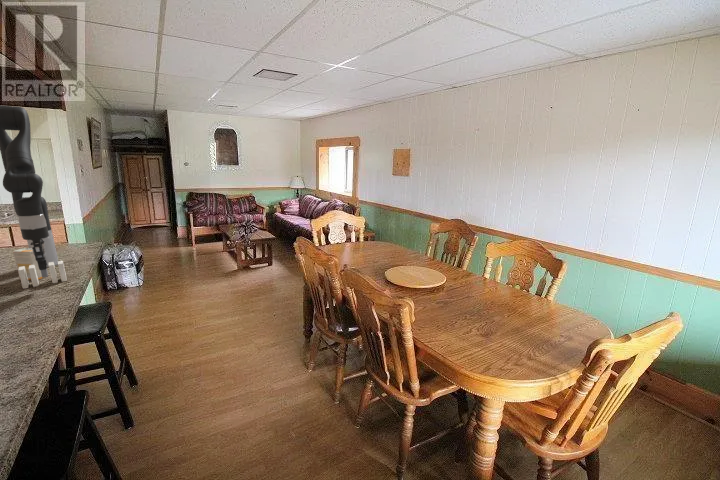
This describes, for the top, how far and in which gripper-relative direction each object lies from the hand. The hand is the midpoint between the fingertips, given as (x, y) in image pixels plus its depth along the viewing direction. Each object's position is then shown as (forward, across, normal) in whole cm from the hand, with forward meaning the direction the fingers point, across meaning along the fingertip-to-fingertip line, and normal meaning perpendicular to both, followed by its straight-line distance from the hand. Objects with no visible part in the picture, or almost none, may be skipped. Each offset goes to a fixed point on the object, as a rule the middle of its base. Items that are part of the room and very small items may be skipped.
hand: (43, 267), depth 134 cm
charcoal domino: (+3, 0, 0) cm, 3 cm away
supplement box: (+10, -20, -5) cm, 23 cm away
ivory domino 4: (+10, -10, +5) cm, 15 cm away
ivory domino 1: (+10, -10, -7) cm, 15 cm away
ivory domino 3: (+10, -10, +2) cm, 14 cm away
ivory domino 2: (+10, -10, -4) cm, 14 cm away
